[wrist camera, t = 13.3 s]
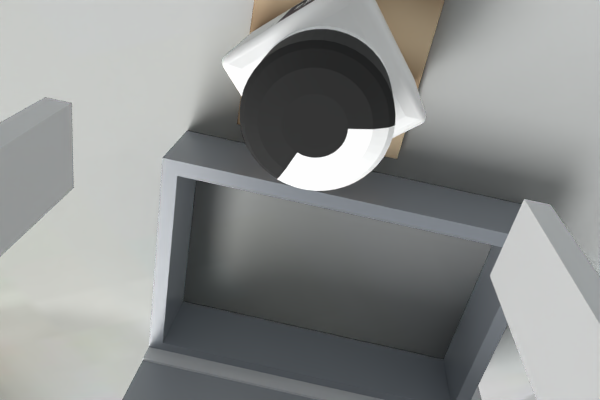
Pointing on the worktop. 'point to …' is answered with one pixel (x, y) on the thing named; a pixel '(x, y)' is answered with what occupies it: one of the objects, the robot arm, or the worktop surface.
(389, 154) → the mat
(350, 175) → the container
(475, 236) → the case
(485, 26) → the worktop surface
